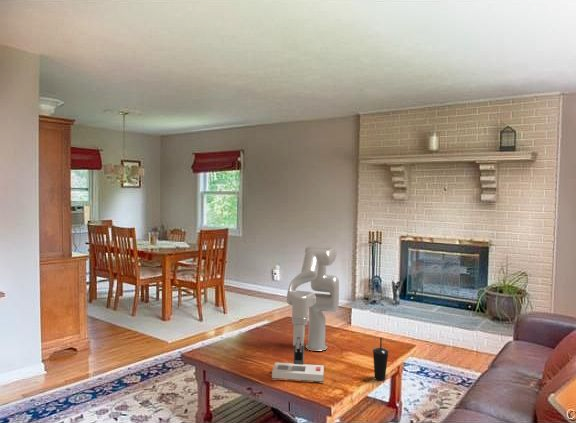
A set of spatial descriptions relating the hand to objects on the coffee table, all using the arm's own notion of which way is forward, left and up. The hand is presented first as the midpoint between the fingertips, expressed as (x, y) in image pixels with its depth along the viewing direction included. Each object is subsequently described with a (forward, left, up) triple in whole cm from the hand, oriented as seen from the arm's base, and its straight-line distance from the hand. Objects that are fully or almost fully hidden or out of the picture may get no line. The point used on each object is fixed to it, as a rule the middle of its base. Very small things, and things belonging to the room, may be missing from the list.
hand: (298, 357), depth 218 cm
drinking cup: (-4, +39, -9) cm, 40 cm away
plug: (0, 0, -2) cm, 2 cm away
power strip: (0, 0, -9) cm, 9 cm away
